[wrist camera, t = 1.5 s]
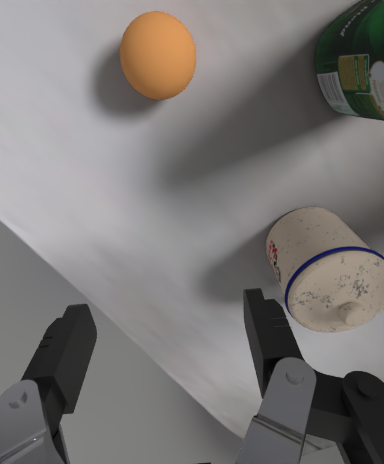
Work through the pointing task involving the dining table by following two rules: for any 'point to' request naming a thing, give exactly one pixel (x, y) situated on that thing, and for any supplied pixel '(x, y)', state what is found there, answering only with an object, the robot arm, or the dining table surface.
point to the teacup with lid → (325, 271)
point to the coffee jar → (354, 61)
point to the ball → (158, 55)
